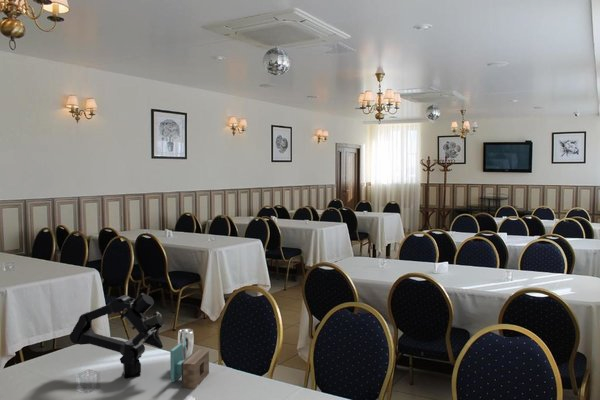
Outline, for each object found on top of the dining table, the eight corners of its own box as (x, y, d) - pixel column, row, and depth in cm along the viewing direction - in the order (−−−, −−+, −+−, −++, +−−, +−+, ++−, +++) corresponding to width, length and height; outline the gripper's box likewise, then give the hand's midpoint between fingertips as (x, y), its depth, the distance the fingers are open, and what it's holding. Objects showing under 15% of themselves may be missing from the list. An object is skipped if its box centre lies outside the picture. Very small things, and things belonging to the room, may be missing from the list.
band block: (181, 387, 208) (181, 363, 208) (196, 372, 224) (196, 349, 223) (194, 388, 207) (194, 364, 207) (209, 373, 223) (208, 350, 222)
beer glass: (190, 367, 230) (189, 333, 229) (175, 365, 231) (175, 332, 230) (196, 361, 236) (196, 329, 236) (182, 360, 238) (181, 328, 237)
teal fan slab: (170, 381, 213) (170, 350, 212) (179, 373, 222) (179, 343, 221) (187, 383, 212) (187, 351, 211) (195, 374, 220) (195, 344, 219)
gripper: (138, 313, 208) (164, 342, 207) (159, 302, 227) (183, 328, 225) (121, 331, 210) (146, 360, 209) (143, 318, 229) (167, 345, 227)
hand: (162, 347), depth 218 cm, fingers closed
